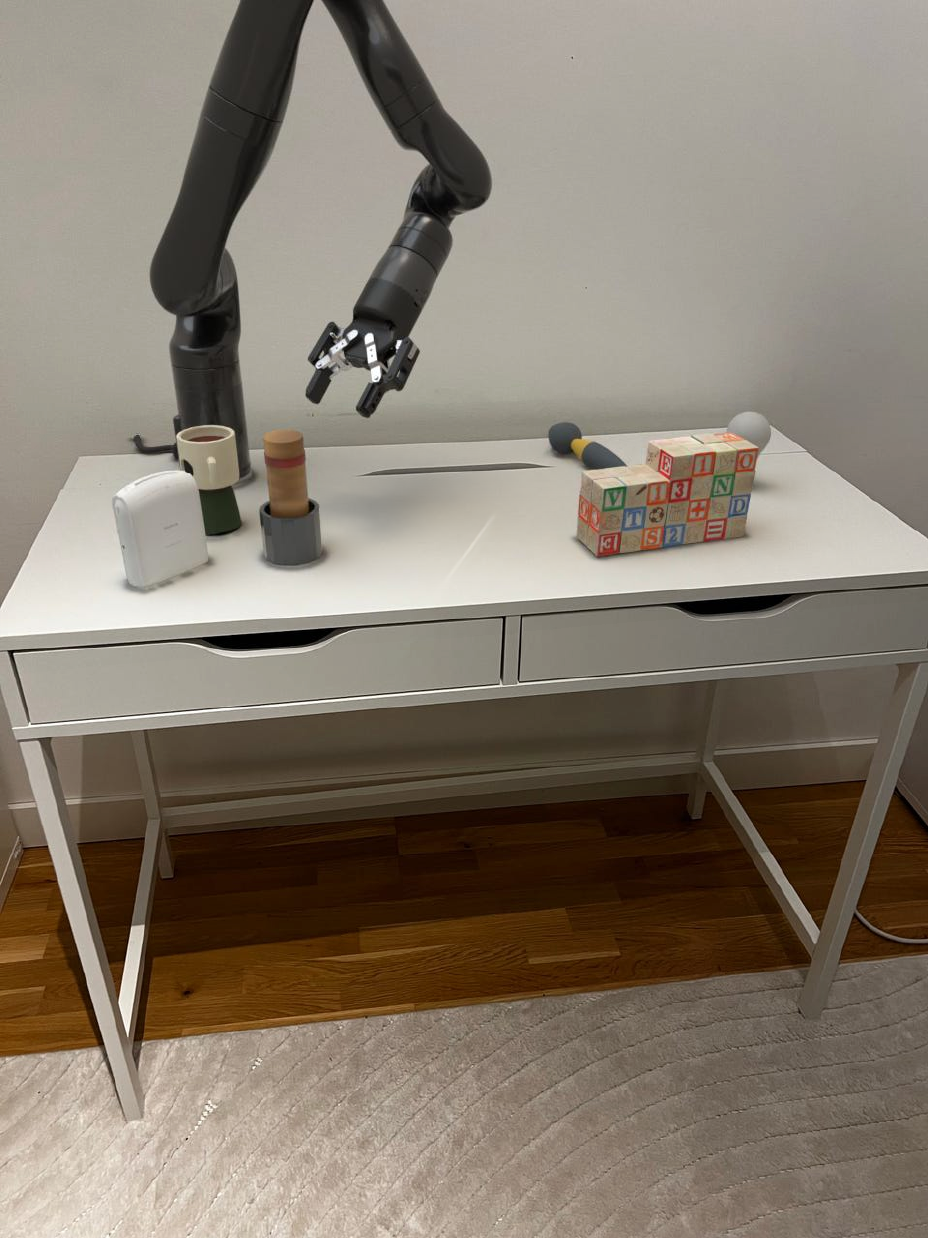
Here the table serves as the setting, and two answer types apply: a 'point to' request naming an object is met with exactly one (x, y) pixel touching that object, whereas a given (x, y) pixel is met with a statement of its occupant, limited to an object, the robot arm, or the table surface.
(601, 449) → the wand massager
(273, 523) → the cup
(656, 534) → the stack of blocks
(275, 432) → the red-banded tan cylinder
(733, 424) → the lightbulb
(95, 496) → the table surface
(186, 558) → the photo printer
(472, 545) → the table surface
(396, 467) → the table surface
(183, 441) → the character mug
